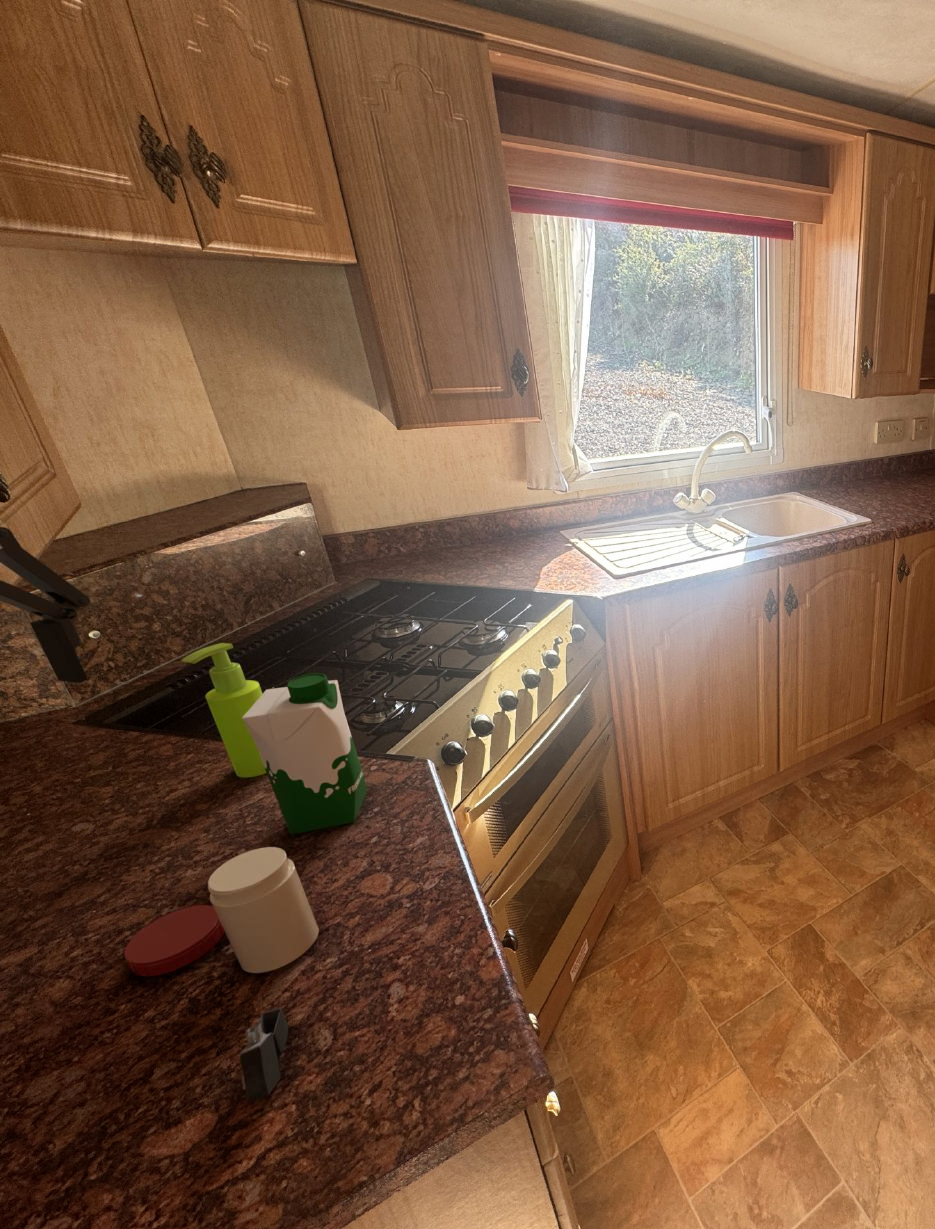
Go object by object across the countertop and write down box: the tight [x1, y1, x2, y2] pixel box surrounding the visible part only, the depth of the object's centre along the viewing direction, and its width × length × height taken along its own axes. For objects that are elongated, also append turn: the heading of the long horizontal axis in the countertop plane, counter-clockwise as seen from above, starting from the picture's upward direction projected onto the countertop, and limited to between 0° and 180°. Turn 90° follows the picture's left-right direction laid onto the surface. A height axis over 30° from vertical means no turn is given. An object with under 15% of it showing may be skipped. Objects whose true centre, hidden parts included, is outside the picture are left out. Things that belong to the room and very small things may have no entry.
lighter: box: [239, 1007, 289, 1105], centre depth 56 cm, size 8×2×5 cm
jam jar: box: [207, 846, 320, 974], centre depth 66 cm, size 7×7×11 cm
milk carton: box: [242, 672, 369, 835], centre depth 84 cm, size 9×9×20 cm
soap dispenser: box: [180, 642, 267, 778], centre depth 93 cm, size 6×7×20 cm
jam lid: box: [124, 904, 225, 977], centre depth 68 cm, size 7×7×2 cm
